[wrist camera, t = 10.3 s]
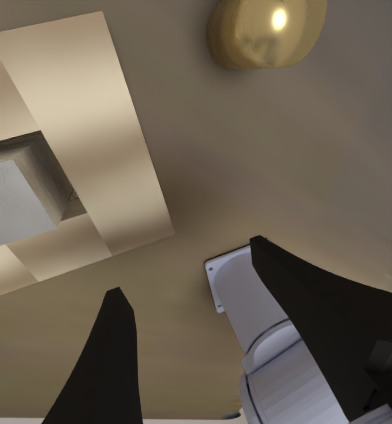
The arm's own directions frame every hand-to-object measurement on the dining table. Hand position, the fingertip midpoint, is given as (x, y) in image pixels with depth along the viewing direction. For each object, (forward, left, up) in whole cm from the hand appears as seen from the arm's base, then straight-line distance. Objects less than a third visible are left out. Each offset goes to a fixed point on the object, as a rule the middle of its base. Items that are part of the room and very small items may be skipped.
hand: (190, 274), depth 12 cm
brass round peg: (+10, -8, -9) cm, 16 cm away
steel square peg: (+5, +8, -10) cm, 14 cm away
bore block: (+5, +8, -9) cm, 13 cm away
